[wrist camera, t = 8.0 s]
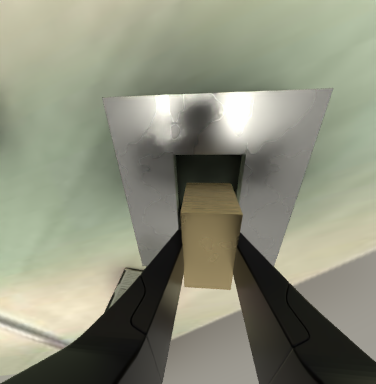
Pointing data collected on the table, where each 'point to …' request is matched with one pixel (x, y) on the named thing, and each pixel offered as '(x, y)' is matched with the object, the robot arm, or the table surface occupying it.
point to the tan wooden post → (210, 234)
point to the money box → (215, 145)
